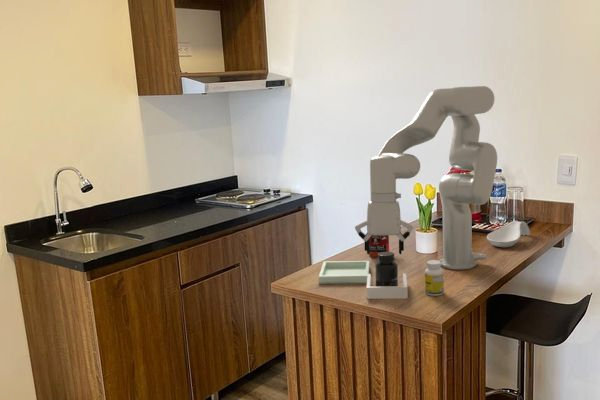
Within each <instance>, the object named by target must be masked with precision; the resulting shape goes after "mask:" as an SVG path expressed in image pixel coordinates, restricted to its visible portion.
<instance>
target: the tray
mask: <svg viewBox="0 0 600 400" xmlns="http://www.w3.org/2000/svg"><path fill="white" fill-rule="evenodd" d="M370 266H371V265H370V260H338V261H337V260H336V261H333V260H331V261H325V260H323V262H322V265H321V268H320V272H319V274H318V284H319V285H321V284H322V285H326V284H327V285H331V284H334V285H336V284H338V285H339V284H343V285H344V284H345V285H346V284H367V277H368V274H370V268H371V267H370Z"/></svg>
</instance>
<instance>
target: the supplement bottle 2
mask: <svg viewBox="0 0 600 400" xmlns="http://www.w3.org/2000/svg"><path fill="white" fill-rule="evenodd" d="M426 267H427V268H425V270H424V283H425V284H424V285H425V286H424V287H425V288H424V289H425V294H427V295H428V296H432V297H436V296H442V295H444V290H445V289H444V288H445V287H444V284H445V283H444V270H443V269H442V268H441V262H440V261H439V260H437V259H430V260H428V261H426Z"/></svg>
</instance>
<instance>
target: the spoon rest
mask: <svg viewBox="0 0 600 400" xmlns="http://www.w3.org/2000/svg"><path fill="white" fill-rule="evenodd" d="M525 235H527V236H526V237H529V235H531V231H530V228H529V225H528V224H527V223H526V222H525V221H518V220H512V221H510V222H509V223H507V224H505V225H504V226H501V227H500V228H497V229H496V230H494V231H491V232H490V233H488V234H487V235H486V240H487V241H488V242H489V243H490V244H491V245H493V246H495V247H498V248H502V249H503V248H505V249H506V248H510V247H511V248H512V247H513V246H514V245H516V244H517V243H518V242H519V240H520V238H521V236H525Z"/></svg>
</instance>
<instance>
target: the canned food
mask: <svg viewBox="0 0 600 400" xmlns="http://www.w3.org/2000/svg"><path fill="white" fill-rule="evenodd" d="M389 236H390V235H371V237H370V238H369V245H370V253H369V254H368V256H369V257H371V258H376V259H378V253H380V252H390V237H389Z"/></svg>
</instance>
